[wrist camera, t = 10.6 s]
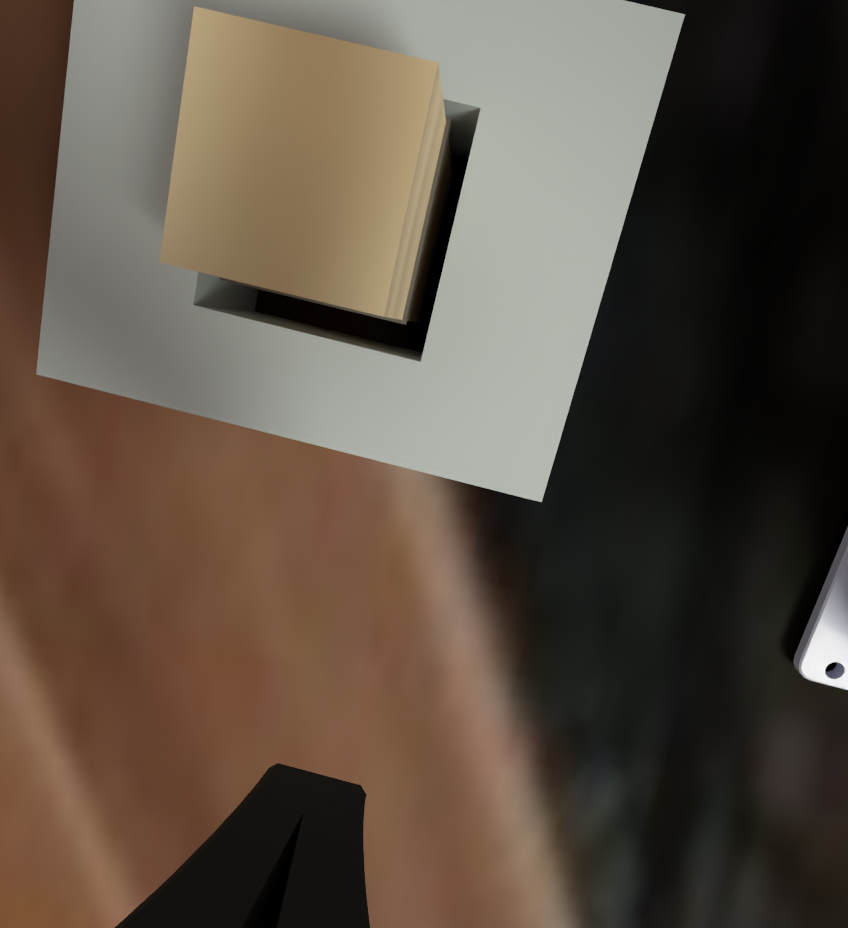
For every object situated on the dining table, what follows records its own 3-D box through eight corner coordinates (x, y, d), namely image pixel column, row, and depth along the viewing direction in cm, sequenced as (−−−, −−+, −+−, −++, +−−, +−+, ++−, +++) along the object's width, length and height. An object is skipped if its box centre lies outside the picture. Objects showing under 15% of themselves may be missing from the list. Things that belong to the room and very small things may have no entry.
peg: (456, 170, 17) (444, 57, 10) (421, 326, 18) (387, 322, 11) (305, 134, 17) (190, -1, 10) (277, 291, 18) (154, 266, 11)
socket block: (633, 92, 16) (684, 14, 12) (526, 465, 18) (541, 502, 14) (179, -15, 16) (86, -124, 12) (129, 365, 18) (36, 374, 15)
